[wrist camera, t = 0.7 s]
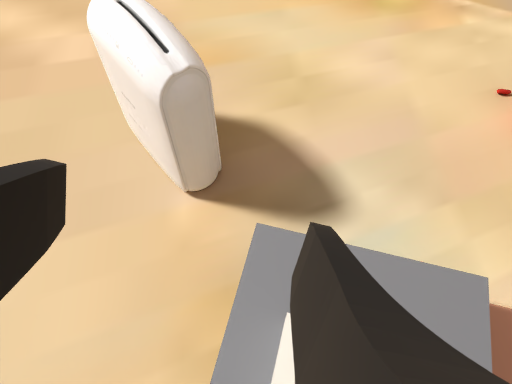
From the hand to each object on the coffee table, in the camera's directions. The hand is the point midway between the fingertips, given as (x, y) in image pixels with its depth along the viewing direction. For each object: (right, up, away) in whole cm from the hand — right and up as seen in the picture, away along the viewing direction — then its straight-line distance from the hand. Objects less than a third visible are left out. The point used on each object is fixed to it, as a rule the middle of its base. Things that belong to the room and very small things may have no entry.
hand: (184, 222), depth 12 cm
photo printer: (-5, +5, +22) cm, 23 cm away
